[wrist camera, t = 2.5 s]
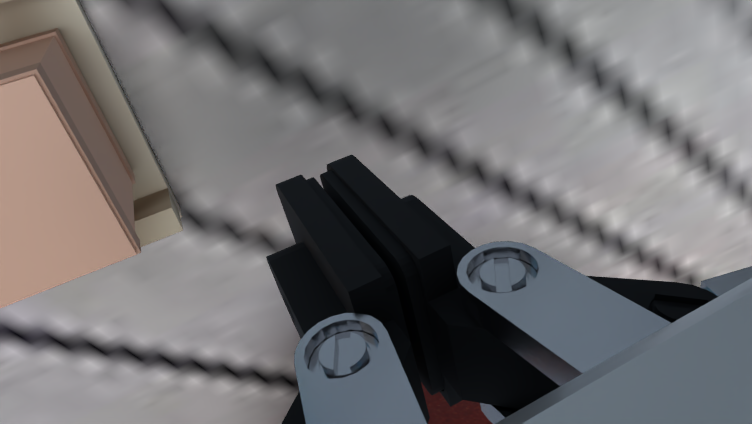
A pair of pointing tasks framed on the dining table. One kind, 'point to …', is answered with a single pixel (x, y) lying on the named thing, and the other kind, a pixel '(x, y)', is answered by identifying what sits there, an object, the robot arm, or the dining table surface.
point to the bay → (102, 105)
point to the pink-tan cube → (57, 173)
